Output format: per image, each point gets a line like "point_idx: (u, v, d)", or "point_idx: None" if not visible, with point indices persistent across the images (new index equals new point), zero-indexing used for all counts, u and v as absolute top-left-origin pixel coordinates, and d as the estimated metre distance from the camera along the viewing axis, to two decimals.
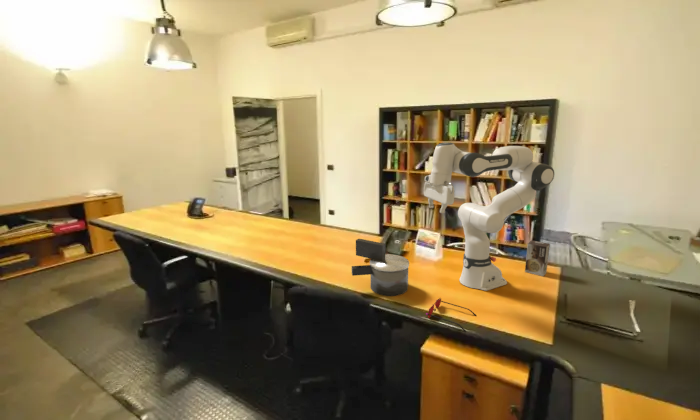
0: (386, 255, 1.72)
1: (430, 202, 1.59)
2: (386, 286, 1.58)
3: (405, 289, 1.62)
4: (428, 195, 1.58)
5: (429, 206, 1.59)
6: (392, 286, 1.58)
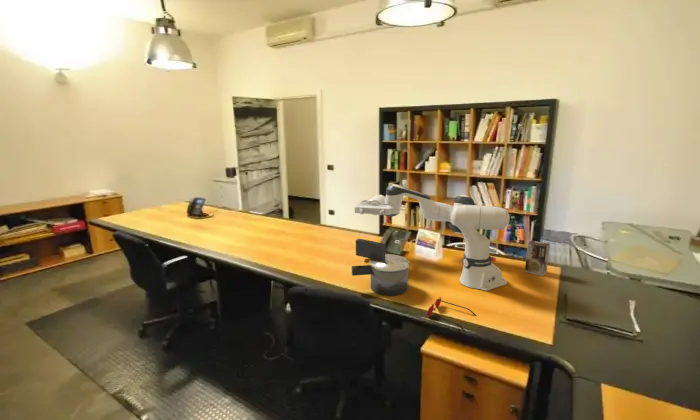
0: (386, 255, 1.72)
1: None
2: (386, 286, 1.58)
3: (405, 289, 1.62)
4: (363, 206, 1.87)
5: (362, 210, 1.83)
6: (392, 286, 1.58)
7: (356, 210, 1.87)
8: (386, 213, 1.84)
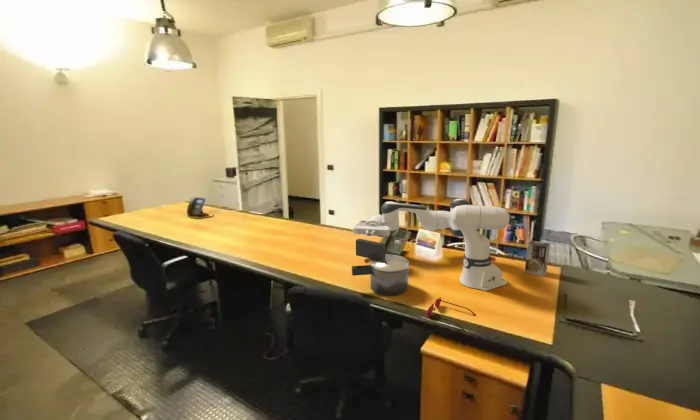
0: (386, 255, 1.72)
1: None
2: (386, 286, 1.58)
3: (405, 289, 1.62)
4: (361, 227, 1.89)
5: (368, 232, 1.84)
6: (392, 286, 1.58)
7: (355, 231, 1.90)
8: (384, 234, 1.86)
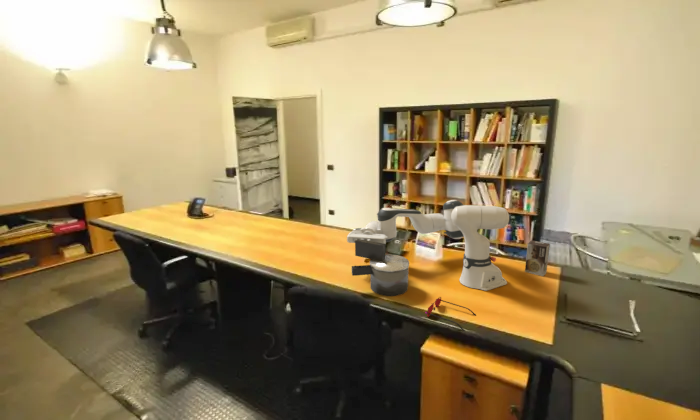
0: (385, 255, 1.72)
1: None
2: (386, 286, 1.58)
3: (405, 289, 1.62)
4: (356, 236, 1.78)
5: None
6: (392, 286, 1.58)
7: (349, 239, 1.79)
8: None
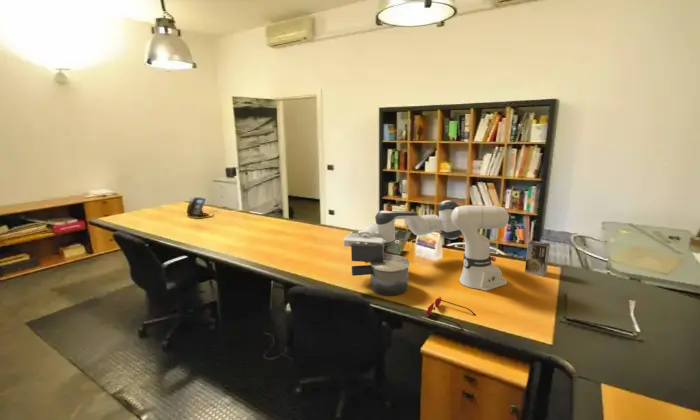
0: None
1: None
2: (386, 286, 1.58)
3: (405, 289, 1.62)
4: (352, 239, 1.73)
5: None
6: (392, 286, 1.58)
7: (345, 243, 1.73)
8: None
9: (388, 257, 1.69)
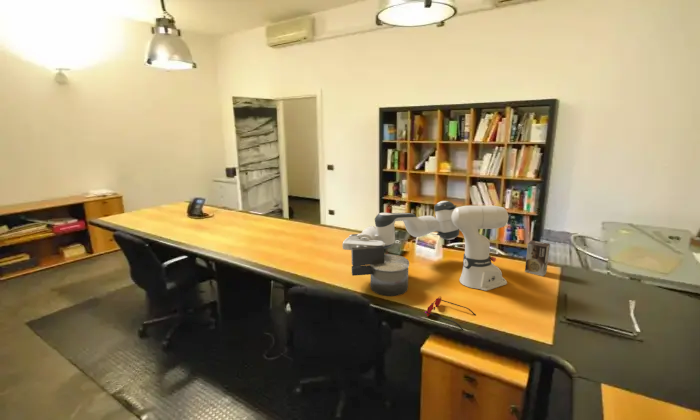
0: None
1: None
2: (386, 286, 1.58)
3: (405, 289, 1.62)
4: (351, 242, 1.69)
5: None
6: (392, 286, 1.58)
7: (344, 246, 1.69)
8: None
9: (384, 257, 1.69)
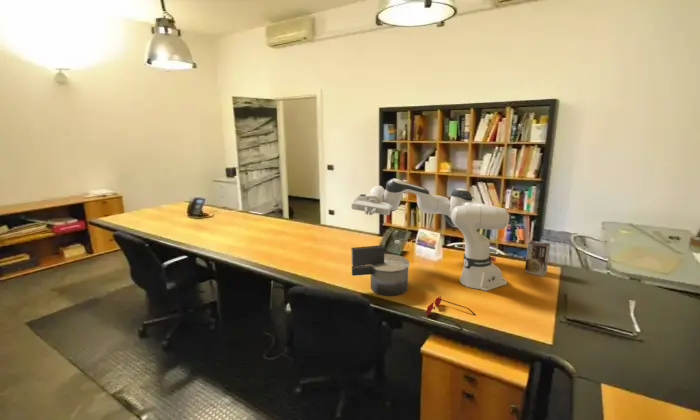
0: None
1: None
2: (386, 286, 1.58)
3: (405, 289, 1.62)
4: (360, 203, 1.77)
5: (367, 210, 1.72)
6: (392, 286, 1.58)
7: (353, 206, 1.77)
8: (385, 213, 1.75)
9: (384, 257, 1.69)
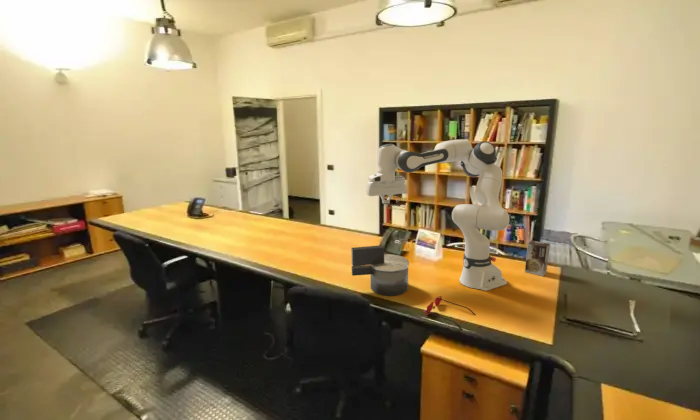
0: None
1: None
2: (386, 286, 1.58)
3: (405, 289, 1.62)
4: (377, 193, 1.73)
5: (385, 202, 1.77)
6: (392, 286, 1.58)
7: None
8: None
9: (384, 257, 1.69)
